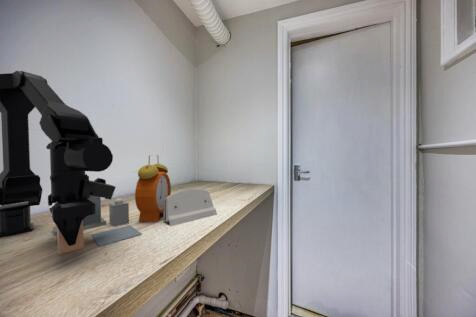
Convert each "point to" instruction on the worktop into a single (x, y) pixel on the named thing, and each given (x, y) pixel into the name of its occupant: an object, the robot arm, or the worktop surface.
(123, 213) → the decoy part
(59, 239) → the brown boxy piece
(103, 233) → the mat
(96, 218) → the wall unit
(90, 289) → the worktop surface
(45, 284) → the worktop surface
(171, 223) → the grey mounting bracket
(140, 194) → the alarm clock
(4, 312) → the worktop surface
